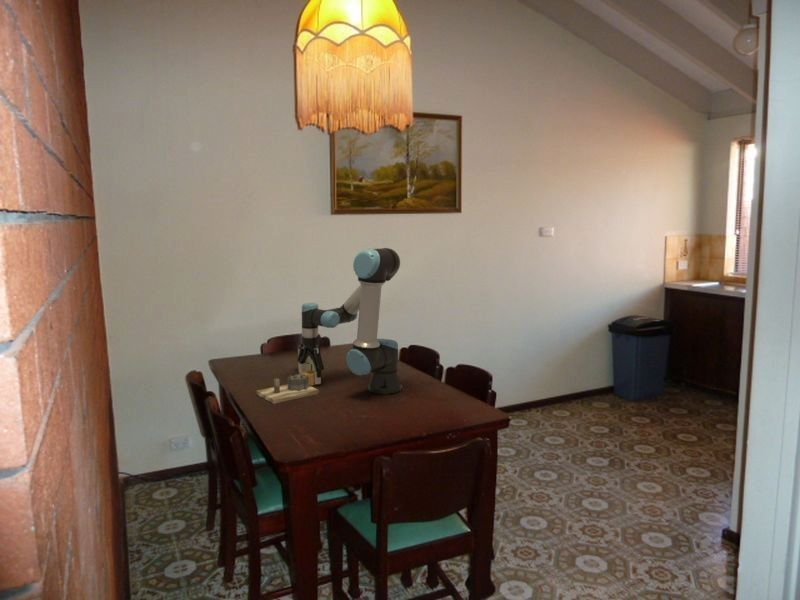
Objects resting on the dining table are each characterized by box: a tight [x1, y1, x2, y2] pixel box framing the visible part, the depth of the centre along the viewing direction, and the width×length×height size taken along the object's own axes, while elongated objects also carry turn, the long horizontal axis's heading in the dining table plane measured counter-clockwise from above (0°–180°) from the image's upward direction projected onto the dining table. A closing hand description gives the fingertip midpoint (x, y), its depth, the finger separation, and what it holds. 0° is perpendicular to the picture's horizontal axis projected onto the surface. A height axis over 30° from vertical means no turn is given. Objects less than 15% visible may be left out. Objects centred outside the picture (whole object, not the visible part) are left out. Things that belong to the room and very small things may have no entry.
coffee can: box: [297, 343, 319, 374], centre depth 289 cm, size 10×10×14 cm
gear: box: [301, 370, 316, 387], centre depth 273 cm, size 9×9×5 cm
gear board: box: [256, 373, 320, 405], centre depth 255 cm, size 16×22×8 cm
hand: (310, 380), depth 273 cm, fingers open, 13 cm apart
